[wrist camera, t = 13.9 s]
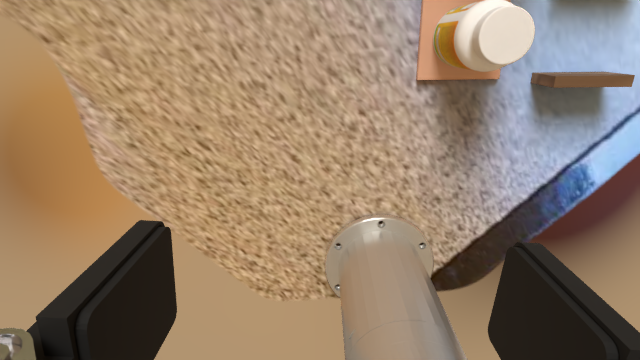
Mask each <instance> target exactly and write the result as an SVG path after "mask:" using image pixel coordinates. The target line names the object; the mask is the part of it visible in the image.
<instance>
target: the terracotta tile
mask: <svg viewBox="0 0 640 360" xmlns="http://www.w3.org/2000/svg"><path fill="white" fill-rule="evenodd" d="M480 1H484V0H422V5H421V19H420V33H419V47H418V61H417V75H416V80H457V79H499V76H500V69H501V68H500V69H497V70H494V71H489V72H480V71H474V70H469V69H464V68H458V67H453V66H450V65H447V64H446V63H444V62H443V61H441V60H440V58H439V57H438V56H437V54H436V52H435V50H434V46H433V35H434V31H435V28H436V26H437V24H438V22H439V20H440V19H441V18H442V17H443V16H444V15H445V14H446V13H447V12H449V11H450V10H452V9H454V8H457V7H460V6H464V5H468V4H472V3H475V2H480ZM505 1H508V2H510V0H505Z"/></svg>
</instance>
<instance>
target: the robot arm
mask: <svg viewBox="0 0 640 360" xmlns="http://www.w3.org/2000/svg"><path fill="white" fill-rule="evenodd" d="M379 221H382V222H381V223H379ZM337 243H340V244H337ZM420 243H421V244H420ZM433 266H434V264H433V253H432V249H431V247H430V245H429V242H428V240H427V239H426V237H425V236H424V234H423V233H422V232H421V231H420V230H419V229H418V228H417V227H416V226H415V225H413V224H412V223H410V222H409V221H407V220H404V219H402V218H400V217H396V216H391V215H371V216H366V217H363V218H360V219H357V220H355V221H353V222H351V223H349V224H347V225H346V226H345V227H344V228H342V229H341V230H340V231H339V232H338V233H337V234H336V235H335V237H334V238H333V239H332V241H331V243H330V245H329V247H328V250H327V253H326V258H325V272H326V277H327V280H328V283H329V285H330V287H331V288H332V290H333V291H334V292H335V294H336V295H337V296H338V297H339V298H341V309H342V323H343V336H344V350H345V360H467V358H466V356H465V354H464V352H463V350H462V347H461V345H460V343H459V341H458V339H457V336H456V334H455V332H454V330H453V327H452V325H451V323H450V321H449V319H448V317H447V314H446V312H445V310H444V308H443V306H442V304H441V301H440V299H439V297H438V295H437V293H436V290H435V288H434V286H433V284H432V282H431V279H430V278H431V275H432V271H433ZM176 313H177V306H176V292H175V279H174V266H173V253H172V240H171V230H170V228H169V227H165V226H164V223H163V222H161V221H144V220H140V221H138V222H137V223H136V224H135V225H134V226H133V227H132V228H131V229H130V230H128V231H127V232H126V233H125V234H124V235H123V236H122V237H121V238H120V239H119V240H118V241H117V242H116V243H114V245H112V246H111V247H110V248H109V249H108V250H107V251H106V252H105V253H104V254H103V255H102V256H100V257H99V258H98V260H96V261H95V262H94V263H93V264H92V265H91V266H90V267H89V268H88V269H87V270H85V271H84V272H83V273H82V274H81V275H80V276H79V277H78V278H77V279H76V280H75V281H74V282H73V283H72V284H70V285H69V286H68V287H67V288H66V289H65V290H64V291H63V292H62V293H61V294H60V295H59V296H57V298H55V299H54V300H53V301H52V302H51V303H50V304H49V305H48V306H47V307H46V308H45V309H44V310H42V311H41V312H40V313H39V314H38V315H37V316H36V320H37V322H35V323H34V324H33V325H32V326H31V327H30V328H29V329H28V330H27V331H25V330H23V329H16V328H4V329H0V360H154V358H155V357H156V354H157V353H158V351H159V349H160V347H161V345H162V344H163V342H164V340H165V338H166V336H167V335H168V333H169V331H170V329H171V327H172V325H173V323H174V321H175V318H176ZM488 334H489V338H490V341H491V343H492V344H493V346H494V348H495V350H496V351H497V353H498V355H499V357H500V359H501V360H640V333H639V332H638V331H637V330H636V329H635V328H634V327H633V326H632V325H631V324H629V323H628V322H627V321H626V320H625V319H624V318H623V317H622V316H621V315H619V314H618V313H617V312H616V311H615V310H614V309H613V308H612V307H610V306H609V305H608V304H607V303H606V302H605V301H604V300H603V299H602V298H601V297H599V296H598V295H597V294H596V293H595V292H594V291H593V290H592V289H591V288H589V287H588V286H587V285H586V284H585V283H584V282H583V281H582V280H580V279H579V278H578V277H577V276H576V275H575V274H574V273H573V272H572V271H570V270H569V269H568V268H567V267H566V266H565V265H564V264H563V263H562V262H560V261H559V260H558V259H557V258H556V257H555V256H554V255H553V254H552V253H550V252H549V251H548V250H547V249H546V248H545V247H544V246H543V245H541V244H539V243H538V244H537V243H522V242H517V243H516V244H515V245H514V246H513V247H510V248H509V249H508V250H507V253H506V257H505V261H504V265H503V269H502V273H501V278H500V282H499V285H498V289H497V293H496V297H495V301H494V306H493V309H492V313H491V317H490V321H489V326H488Z"/></svg>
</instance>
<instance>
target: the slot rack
mask: <svg viewBox="0 0 640 360" xmlns="http://www.w3.org/2000/svg"><path fill="white" fill-rule="evenodd" d="M634 76H635V75H628V74H619V73H610V72H552V73H532V79H531V83H533V84H538V85H543V86H548V87H553V88H564V87H632V84H633V80H634Z"/></svg>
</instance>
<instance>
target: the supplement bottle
mask: <svg viewBox="0 0 640 360" xmlns="http://www.w3.org/2000/svg"><path fill="white" fill-rule="evenodd" d="M534 34H535V26H534V22H533V19H532V17H531V16H530V14H529V13H528V12H527V11H526V10H524V9H523V8H520V7H518V6H515V5H514V4H512V3H510V2H508V1H505V0H484V1H480V2H475V3H472V4H468V5H464V6H460V7H457V8H454V9H452V10H450V11H449V12H447V13H446V14H445V15H444V16H443V17H442V18H441V19H440V20H439V22H438V24H437V26H436V28H435V31H434V35H433V46H434V50H435V52H436V54H437V56H438V57H439V58H440V60H441V61H443V62H444V63H446V64H447V65H450V66H453V67H458V68H464V69H469V70H474V71H480V72H489V71H494V70H497V69H500V68H502V67H504V66H506V65H507V64H511V63H513V62H515V61H517V60H519V59H520V58H521V57H523V56H524V55H525V54H526V52H527V51H528V50H529V48H530V47H531V45H532V42H533V39H534Z"/></svg>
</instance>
